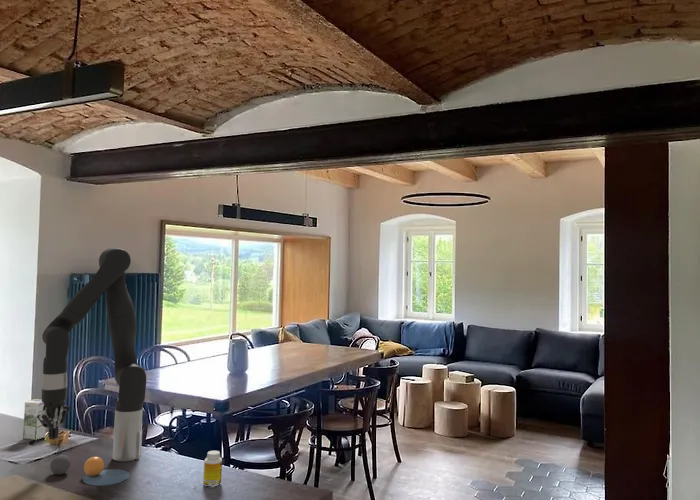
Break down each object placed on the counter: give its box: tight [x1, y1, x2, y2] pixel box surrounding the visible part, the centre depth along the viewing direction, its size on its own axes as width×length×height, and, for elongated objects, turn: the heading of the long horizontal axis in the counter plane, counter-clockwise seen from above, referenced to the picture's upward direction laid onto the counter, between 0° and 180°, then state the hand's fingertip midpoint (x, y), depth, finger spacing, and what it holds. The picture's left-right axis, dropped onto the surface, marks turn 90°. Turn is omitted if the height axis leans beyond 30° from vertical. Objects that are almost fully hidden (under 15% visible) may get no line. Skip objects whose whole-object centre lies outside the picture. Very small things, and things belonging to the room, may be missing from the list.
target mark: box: [82, 468, 131, 487], centre depth 183 cm, size 14×14×1 cm
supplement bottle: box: [202, 450, 223, 487], centre depth 180 cm, size 6×6×10 cm
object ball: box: [83, 456, 105, 476], centre depth 184 cm, size 6×6×6 cm
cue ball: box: [49, 454, 72, 475], centre depth 184 cm, size 6×6×6 cm
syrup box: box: [22, 398, 46, 441], centre depth 221 cm, size 6×6×14 cm
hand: (53, 438), depth 187 cm, fingers closed
